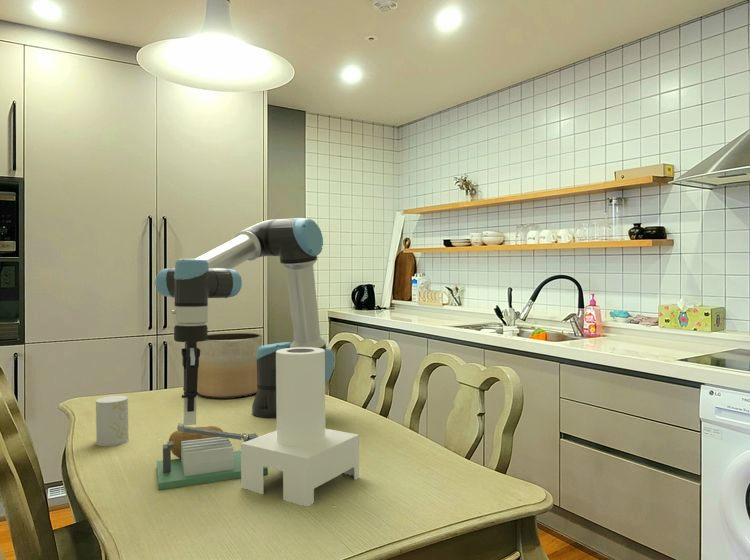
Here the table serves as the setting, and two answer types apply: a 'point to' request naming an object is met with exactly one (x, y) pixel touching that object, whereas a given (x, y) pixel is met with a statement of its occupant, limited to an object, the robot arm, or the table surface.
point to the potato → (188, 438)
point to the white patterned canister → (112, 420)
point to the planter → (228, 365)
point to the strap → (211, 432)
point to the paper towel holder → (300, 432)
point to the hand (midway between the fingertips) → (189, 424)
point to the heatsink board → (199, 478)
